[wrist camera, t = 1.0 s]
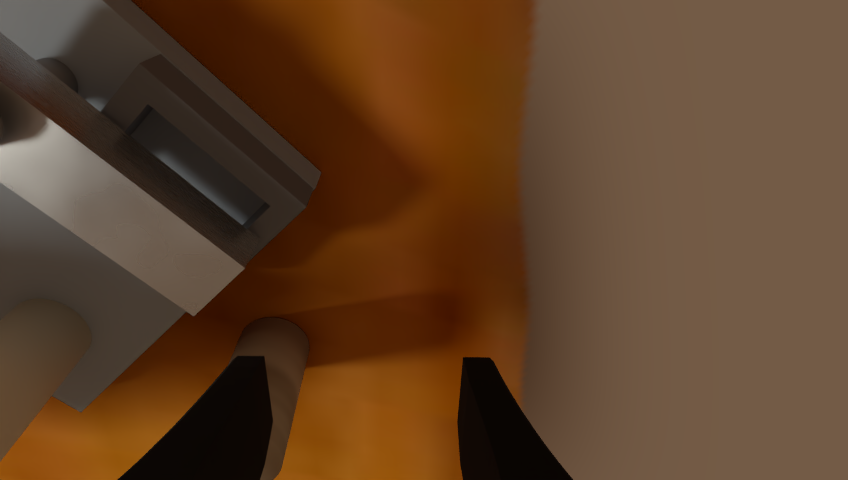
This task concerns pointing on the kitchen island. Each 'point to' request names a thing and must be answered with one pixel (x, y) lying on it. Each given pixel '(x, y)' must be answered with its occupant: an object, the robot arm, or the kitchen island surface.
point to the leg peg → (277, 377)
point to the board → (82, 263)
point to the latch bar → (112, 188)
